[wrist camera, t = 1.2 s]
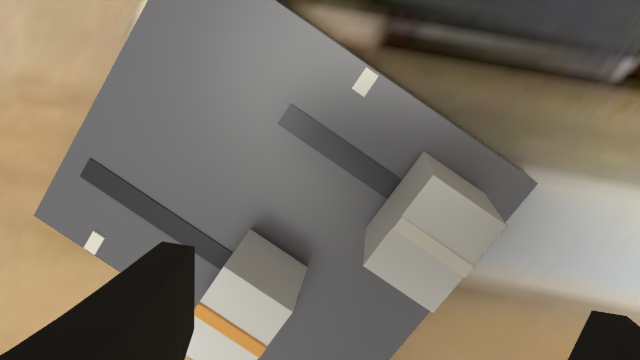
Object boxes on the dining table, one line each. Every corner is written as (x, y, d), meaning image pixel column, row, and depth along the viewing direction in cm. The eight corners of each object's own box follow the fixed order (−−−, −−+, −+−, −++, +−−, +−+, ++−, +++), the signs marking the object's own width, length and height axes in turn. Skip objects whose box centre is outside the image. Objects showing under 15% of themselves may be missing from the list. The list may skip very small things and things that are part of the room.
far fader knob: (307, 267, 23) (292, 314, 19) (259, 332, 24) (235, 390, 20) (250, 228, 23) (222, 268, 19) (204, 296, 24) (168, 347, 20)
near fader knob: (484, 193, 21) (508, 227, 17) (424, 267, 22) (433, 315, 18) (423, 151, 21) (433, 175, 17) (366, 227, 22) (362, 267, 18)
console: (524, 171, 23) (538, 184, 21) (343, 390, 27) (340, 418, 25) (199, -56, 22) (181, -66, 20) (59, 202, 26) (32, 216, 24)
